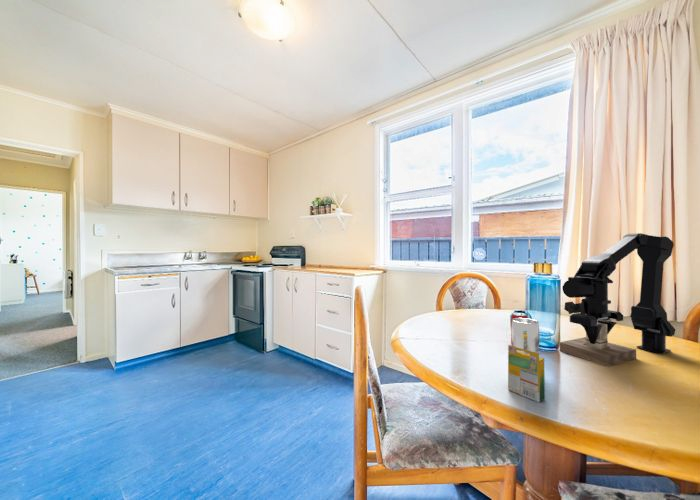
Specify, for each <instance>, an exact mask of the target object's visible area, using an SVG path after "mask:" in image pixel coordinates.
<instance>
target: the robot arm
mask: <svg viewBox="0 0 700 500" xmlns="http://www.w3.org/2000/svg"><path fill="white" fill-rule="evenodd" d="M674 246H675V243H674V241H673V240H672V239H671V238H669V236H656V235H649V234H646V233H642V232H641V233H639V232H638V233H628V234H625V235H624V236H623V237H622V238H621V239H620V240H619V241H617V242H616V243H614V244H613V245H611V246H610V247H609V248H608V249H606V250H605V251H604V252H602V253H600V254H597V255H593V256H591V257H587V258H585V259H584V260H583V261H582V262H581V263H580V264H581V265H580V266H579V268H578V269H577V271H576V273H575V274H574V276H568V278H567V280H566V281H565V282H564V283H563V285H562V292H563V294H564V295H565V296H566V297H568V298H571V299H572V298H577V299H578V298H582V299H581V301H580V303H579V302H578V303H575V302H573V301H567V302H564V308H563V310H564V311H566V312H567V313H568V315H569V322H570V323H573V324H576V325H580V326H582V328H583V329H584V331H585V334H586V333H587V336H588V338H589V341H590V343H591V344H595V342H596V340H597V338H598V335H599V332H600V330H601V327H602V325H598V323H602V324H607V336H608V335H609V333H610V332H611V331H612V330H613V328H614V327H615V326H616V325H617V322H623V321H624V315H623V314H622V313H621V312H620V311H617V310H610V309H609V305H610V304H612V300H611V299H609V289H608V287H609V286H608V285H609V284H613V283H614V281H613V280H612V279H611V278H609V277H610V276H611V275H612V273H613V272H614V271H615V270H616V269H617V264H618V263H619V262H621V261H622V260H624V258H626V257H627V256H628V255H630V254H631V253H632V252H633V251H635V250H636V254H637V255H638V257H639V259H640V260H641V261H642V269H641V282H640V283H641V284H640V295H639V302H638V303H637V304H636V305H632V306H631V307H630V315H629V317H630V321H631V323H632V326H633V328H634V330H636V331H641V345H637V346H636V349H640V350H644V351H647V352H648V351H649V352H652V353H656V354H661V355H664V354H666V353H670V352H672V350H671V349H668V348H666V347H667V346H666V345H667V344H666V343H667V342H666V341H667V338H666V337H673V336H675V334H676V328H675V327H674V326H673V325H672V324H671V323H670V322H669V320H668V313H667V312H666V310H665V308H664V307H663V305H662V302H661V301H662V289H663V278H664V277H663V276H664V264H665V262H667V260H668V259H669V258H670V257H672V253H673V249H674ZM612 320H615V321H612Z"/></svg>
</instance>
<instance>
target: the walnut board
mask: <svg viewBox="0 0 700 500" xmlns="http://www.w3.org/2000/svg"><path fill="white" fill-rule="evenodd" d="M559 352H563V353H565V354H569V355H572V356H576V357H578V358H582V359H583V360H584V359H585V360H588V361H592V362H594V363H597V364H600V365H603V366H607V367H611V366H614V365H618V364H622V363H625V362H630V361H633V360H636V359H637V348H636V349H635V348H631V347H627V346H625V345H620V344H616V343H612V342H609V341H608V342H607V348H606V349H598V348H594V347H590V346H587V345H586V336H584V337H580V338H575V339H568V340H564V341H559Z"/></svg>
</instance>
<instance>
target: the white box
mask: <svg viewBox="0 0 700 500" xmlns="http://www.w3.org/2000/svg"><path fill="white" fill-rule="evenodd" d="M539 325H540V322H539V320H536V319H533V318H532V319H531V318H514V319H512V342H513V346H514V347H517V348H521V349H525V350H528V351H532V352H535V353H539V347H540V339H541V338H540V337H541V336H540V335H541V334H540V326H539ZM517 351H518V352H521V353H525V354H528V355H530V354H529V353H526V352H524V351H519V350H517Z"/></svg>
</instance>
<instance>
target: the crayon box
mask: <svg viewBox="0 0 700 500" xmlns="http://www.w3.org/2000/svg"><path fill="white" fill-rule="evenodd" d="M507 350H508V352H507V354H508V355H507V362H508V363H507V373H508V374H507V376H508V377H507V389H508V391H509V392H513V393H515V394H518V395H520V396H522V397H525V398H528V399H530V400H532V401H534V402H537V403H541V402H543V401H544V400H545V399H546V397H545V396H546V395H545V392H546V390H545V387H546V386H545V381H546V379H545V378H546V377H545V358H541V357H540V353H539V352H538V353H535V352H532V351H528V350H525V349H521V348H517V347H514V346H512V345H510V344H508V346H507ZM517 350H519V351H524V352H526V353H529V354H530V355H528V354H525V353H521V352H518V351H517Z"/></svg>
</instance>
